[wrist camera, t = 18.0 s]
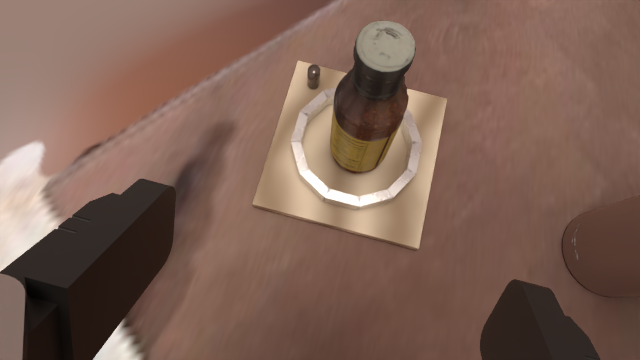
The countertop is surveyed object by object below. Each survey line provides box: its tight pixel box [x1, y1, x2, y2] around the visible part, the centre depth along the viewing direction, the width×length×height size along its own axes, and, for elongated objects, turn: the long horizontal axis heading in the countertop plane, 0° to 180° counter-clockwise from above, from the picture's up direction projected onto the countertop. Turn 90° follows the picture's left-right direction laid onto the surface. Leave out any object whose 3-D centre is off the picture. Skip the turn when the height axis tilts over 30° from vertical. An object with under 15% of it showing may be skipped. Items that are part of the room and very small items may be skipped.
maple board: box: [253, 61, 447, 250], centre depth 47 cm, size 18×18×1 cm
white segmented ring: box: [291, 65, 422, 211], centre depth 45 cm, size 14×14×3 cm
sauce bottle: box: [330, 21, 416, 174], centre depth 37 cm, size 6×6×20 cm
